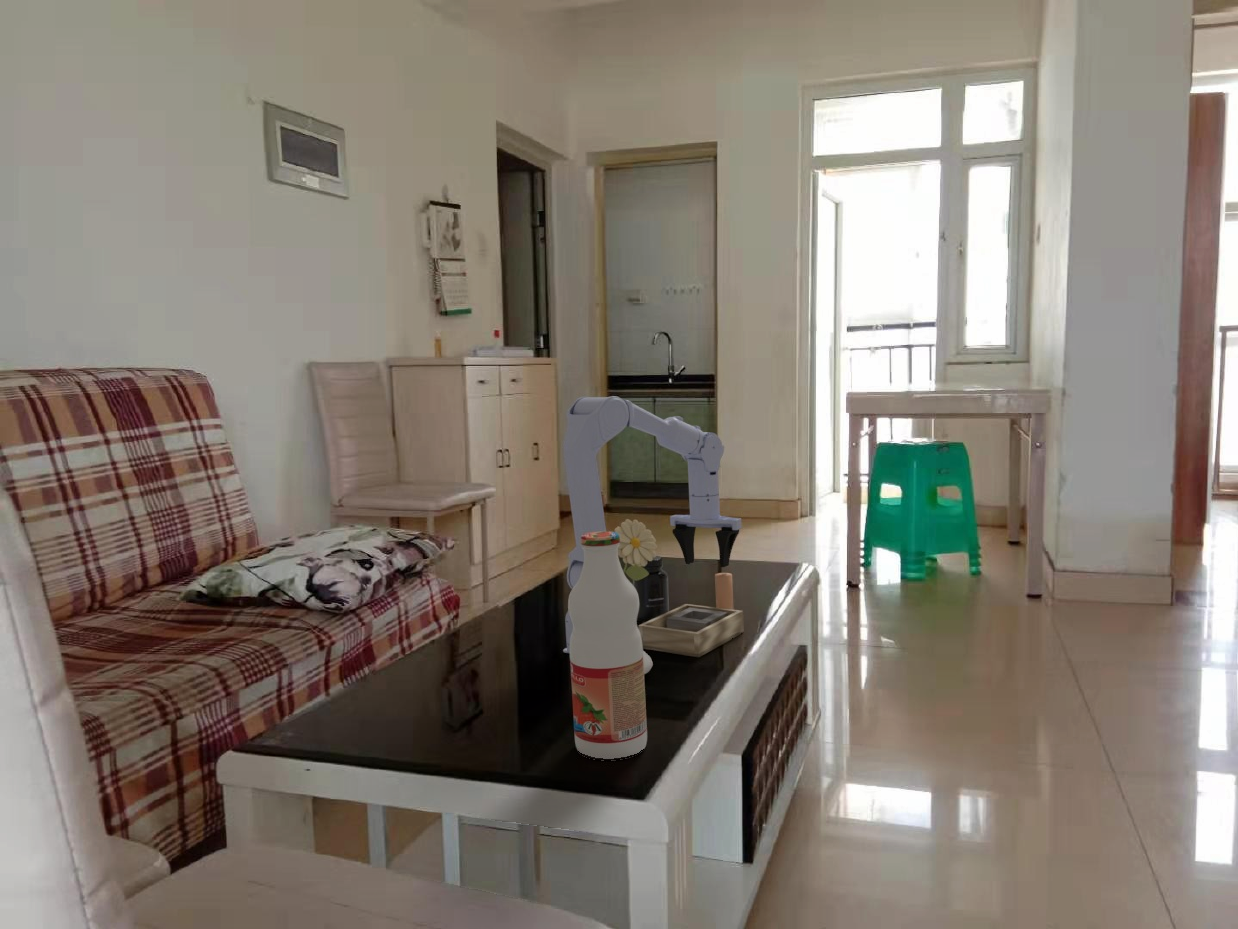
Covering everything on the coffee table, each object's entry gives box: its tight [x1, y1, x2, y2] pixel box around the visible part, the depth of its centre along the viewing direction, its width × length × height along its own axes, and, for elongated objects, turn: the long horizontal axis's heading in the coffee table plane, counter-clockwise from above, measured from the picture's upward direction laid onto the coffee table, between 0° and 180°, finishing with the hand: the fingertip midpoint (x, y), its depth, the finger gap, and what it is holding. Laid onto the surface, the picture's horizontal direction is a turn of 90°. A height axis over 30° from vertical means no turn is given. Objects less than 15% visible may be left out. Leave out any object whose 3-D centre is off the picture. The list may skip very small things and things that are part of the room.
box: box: [637, 603, 745, 658], centre depth 165 cm, size 16×12×4 cm
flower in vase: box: [614, 518, 658, 675], centre depth 147 cm, size 13×11×25 cm
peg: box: [714, 572, 734, 610], centre depth 176 cm, size 3×3×9 cm
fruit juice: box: [567, 530, 648, 759], centre depth 119 cm, size 9×9×28 cm
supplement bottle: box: [632, 555, 670, 623], centre depth 180 cm, size 7×7×12 cm
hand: (706, 564), depth 179 cm, fingers open, 7 cm apart
